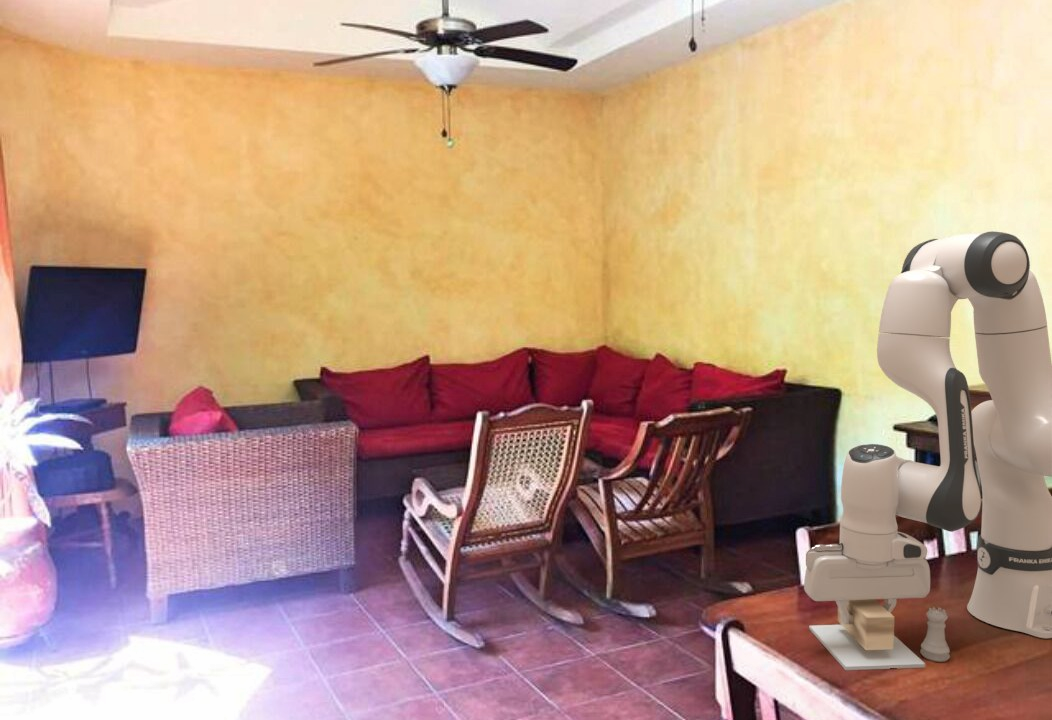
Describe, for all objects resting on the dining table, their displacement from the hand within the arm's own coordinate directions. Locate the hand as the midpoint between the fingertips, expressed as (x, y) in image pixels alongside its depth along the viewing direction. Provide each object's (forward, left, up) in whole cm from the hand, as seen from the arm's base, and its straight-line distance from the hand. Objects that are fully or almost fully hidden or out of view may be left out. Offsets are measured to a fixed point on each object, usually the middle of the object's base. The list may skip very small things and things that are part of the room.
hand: (865, 622), depth 138 cm
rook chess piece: (-10, +4, -4) cm, 12 cm away
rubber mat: (0, 0, -4) cm, 4 cm away
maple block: (0, 0, -2) cm, 2 cm away
